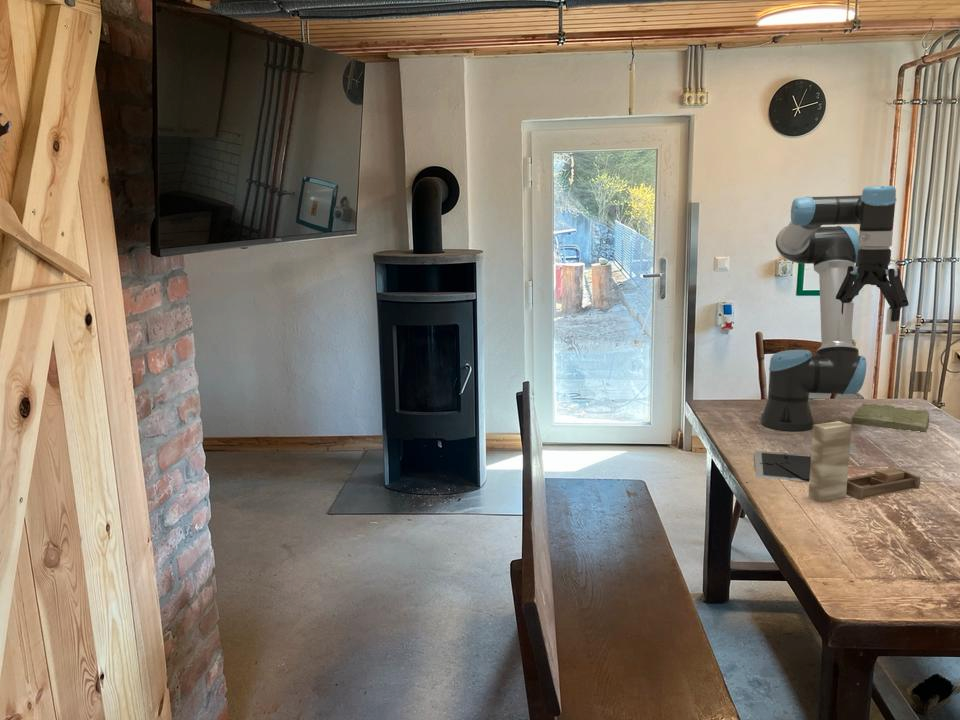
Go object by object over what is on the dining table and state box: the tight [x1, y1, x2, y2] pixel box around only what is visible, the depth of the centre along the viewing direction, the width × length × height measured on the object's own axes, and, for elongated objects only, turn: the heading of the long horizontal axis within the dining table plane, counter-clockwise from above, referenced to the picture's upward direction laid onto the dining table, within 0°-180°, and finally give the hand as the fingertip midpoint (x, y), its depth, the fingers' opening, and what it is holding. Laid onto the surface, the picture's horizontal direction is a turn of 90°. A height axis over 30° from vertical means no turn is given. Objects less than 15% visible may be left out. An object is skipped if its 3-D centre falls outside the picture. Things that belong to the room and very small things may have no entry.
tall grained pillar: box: [808, 420, 852, 503], centre depth 162 cm, size 4×8×18 cm, turn 109°
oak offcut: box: [874, 468, 904, 483], centre depth 169 cm, size 4×5×4 cm
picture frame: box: [754, 450, 811, 483], centre depth 184 cm, size 16×3×21 cm
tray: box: [846, 465, 921, 501], centre depth 168 cm, size 8×18×4 cm, turn 109°
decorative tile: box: [851, 403, 930, 433], centre depth 224 cm, size 19×20×4 cm
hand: (868, 330), depth 185 cm, fingers open, 13 cm apart
